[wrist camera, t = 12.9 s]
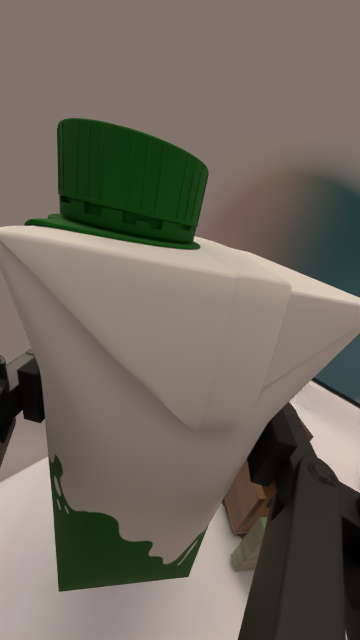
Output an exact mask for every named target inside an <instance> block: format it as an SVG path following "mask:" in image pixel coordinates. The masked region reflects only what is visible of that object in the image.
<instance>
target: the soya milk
mask: <svg viewBox="0 0 360 640" xmlns="http://www.w3.org/2000/svg"><path fill="white" fill-rule="evenodd" d="M57 144H58V145H57V146H58V194H59V195H60V213H61V214H50V215H49V216H48V219H30V220H28V221H26V223H25V225H24V226H8V227H0V268H1V271H2V274H3V276H4V278H5V280H6V284H7V286H8V289H9V291H10V294H11V296H12V299H13V302H14V304H15V307H16V309H17V312H18V314H19V317H20V319H21V322H22V324H23V327H24V330H25V332H26V335H27V337H28V340H29V342H30V345H31V347H32V350H33V353H34V355H35V358H36V360H37V363H38V366H39V369H40V374H41V380H42V390H43V401H44V412H45V422H46V434H47V444H48V456H49V467H50V478H51V489H52V501H53V514H54V529H55V543H56V557H57V571H58V586H59V592H61V591H69V590H78V589H87V588H95V587H104V586H113V585H122V584H130V583H139V582H148V581H156V580H165V579H174V578H183V577H188V576H189V573H190V571H191V568H192V566H193V563H194V560H195V558H196V555H197V553H198V550H199V548H200V545H201V543H202V540H203V537H204V535H205V532H206V530H207V527H208V525H209V523H210V521H211V519H212V517H213V516H214V514H215V512H216V510H217V509H218V507H219V505H220V504H221V502H222V500H223V498H224V497H225V495H226V493H227V491H228V490H229V488H230V486H231V485H232V483H233V481H234V479H235V478H236V476H237V474H238V473H239V471H240V469H241V467H242V466H243V464H244V462H245V461H246V459H247V457H248V455H249V454H250V452H251V450H252V449H253V447H254V445H255V443H256V442H257V440H258V438H259V437H260V435H261V433H262V432H263V430H264V428H265V427H266V425H267V423H268V422H269V421H270V420H271V419H272V418H273V417H274V416H275V415H276V414H277V413H278V412H279V411H280V410H281V409H282V408H283V407H284V406H285V405H286V404H287V403H288V402H289V401H290V400H291V399H292V398H293V397H294V396H295V395H296V394H297V393H298V392H299V391H300V390H301V389H302V388H303V387H304V386H305V385H306V384H307V383H308V382H309V381H310V380H311V379H312V378H313V377H314V376H316V374H318V372H320V371H321V370H322V369H323V368H324V367H325V366H326V365H327V364H328V363H329V362H330V361H331V360H332V359H333V358H334V357H335V356H336V355H337V354H338V353H339V352H340V351H341V350H342V349H343V348H344V347H345V346H347V344H349V343H350V342H351V341H352V340H353V339H354V338H355V337H356V336H357V335H358V334H359V333H360V298H359V297H356V296H354V295H351V294H349V293H346V292H344V291H342V290H339V289H337V288H334V287H332V286H330V285H327V284H325V283H322V282H320V281H318V280H315V279H313V278H310V277H308V276H305V275H303V274H300V273H298V272H296V271H293V270H291V269H289V268H286V267H283V266H281V265H279V264H276V263H274V262H272V261H269V260H267V259H264V258H262V257H259V256H257V255H255V254H252V253H250V252H245V251H241V250H237V249H232V248H229V247H226V246H224V245H221V244H219V243H216V242H213V241H210V240H206V239H203V238H199V237H195V236H194V235H195V231H196V227H197V226H198V219H199V216H200V210H201V206H202V202H203V197H204V193H205V188H206V184H207V179H208V169H207V167H206V165H205V164H204V163H203V162H202V161H200V160H199V159H198V158H196V157H195V156H193V155H192V154H190V153H188V152H187V151H185V150H183V149H181V148H179V147H177V146H175V145H173V144H171V143H168V142H166V141H164V140H161V139H159V138H156V137H154V136H151V135H148V134H145V133H142V132H139V131H136V130H133V129H130V128H126V127H123V126H119V125H115V124H111V123H107V122H102V121H97V120H90V119H82V118H81V119H80V118H69V119H64V120H61V121H60V122H59V124H58V128H57ZM194 226H195V227H194Z"/></svg>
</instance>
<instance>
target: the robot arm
mask: <svg viewBox="0 0 360 640" xmlns="http://www.w3.org/2000/svg"><path fill="white" fill-rule="evenodd" d="M22 410H23V415H24V419H27V420H31V421H34V422H38V423H41V422H42V421H43V420H44V419H45V412H44V401H43V390H42V380H41V374H40V369H39V366H38V363H37V360H36V358H35V355H34V353H33V350H32V349H29V350H28V351H26V352H25V354H22V355H21V356H19V357H18V358H16V359H15V360H13V361H12V362H10V363H9V364H7V365H6V362H5V359H4V357H3V356H1V355H0V467H1V464H2V461H3V458H4V455H5V452H6V449H7V446H8V444H9V441H10V438H11V435H12V432H13V430H14V427H15V422H16V418H15V417H16V415H18V414H19V413H20V412H21V411H22ZM247 461H248V468H249V474H250V481H251V482H252V483H255V484H259V485H262V486H266V487H269V486H270V484H271V483H272V482H273V480H275V484H276V488H277V491H276V492H275V493H274V495H273V496H272V497H271V498H270V500H269V501H268V503H267V504H266V507H267V508H269V507H270V510H269V514H268V519H267V523H266V527H265V531H264V535H263V539H262V543H261V547H260V551H259V555H258V559H257V563H256V568H255V572H254V576H253V580H252V584H251V588H250V592H249V596H248V600H247V604H246V608H245V612H244V617H243V621H242V625H241V629H240V633H239V637H238V640H346V637H345V629H346V634H347V639H348V640H360V493H359V492H357V491H355V490H353V489H352V488H350V487H348V486H346V485H345V484H343V483H341V482H340V481H339V480H338V478H337V477H336V475H335V473H334V472H333V470H332V469H331V468H330V467H329V466H328V465H327V464H326V463H325V462H323V461H322V460H321V459H319V458H317V456H316V454H315V452H314V450H313V447H312V445H311V443H310V441H309V439H308V436H307V434H306V432H305V430H304V428H303V425H302V423H301V421H300V420H299V417H298V415H297V412H296V410H295V409H294V408H293V406H292V405H291V404H290V403H289V402H288V403H287V404H286V405H285V406H284V407H283V408H282V409H281V410H280V411H279V412H278V413H277V414H276V415H275V416H274V417H273V418H272V419H271V420H270V421H269V422H268V423H267V425H266V427H265V428H264V430H263V432H262V433H261V435H260V437H259V438H258V440H257V442H256V443H255V445H254V447H253V449H252V450H251V452H250V454H249V455H248V457H247ZM270 505H271V506H270Z"/></svg>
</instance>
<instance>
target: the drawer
mask: <svg viewBox="0 0 360 640" xmlns="http://www.w3.org/2000/svg"><path fill="white" fill-rule="evenodd" d="M276 491H277V488H276V484H275V480H273V482H272V483H271V484H270V486H269V487H266V486H262V485H259V484H255V483H252V482H251V481H250V474H249V468H248V461H247V459H246V461H245V462H244V464H243V466H242V467H241V469H240V471H239V473H238V474H237V476H236V478H235V479H234V481H233V483H232V485H231V486H230V488H229V490H228V491H227V493H226V495H225V497H224V500H225V503H226V507H227V511H228V515H229V518H230V522H231V526H232V529H233V533H234V534H243V533H248V534H247V535H246V536H245V538H244V539H243V540H242V542H241V543H240V544H239V545H238V547H237V548H236V549H235V551H234V552H233V553H232V554H231V557H232V561H233V565H234V570H235V571H241V570H248V569H255V568H256V563H257V559H258V555H259V551H260V547H261V543H262V539H263V535H264V531H265V527H266V523H267V519H268V514H269V510H270V507H269V508H267V507H266V504H267V503H268V501H269V500H270V498H271V497H272V496H273V495H274V493H275V492H276ZM270 506H271V505H270Z"/></svg>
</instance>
